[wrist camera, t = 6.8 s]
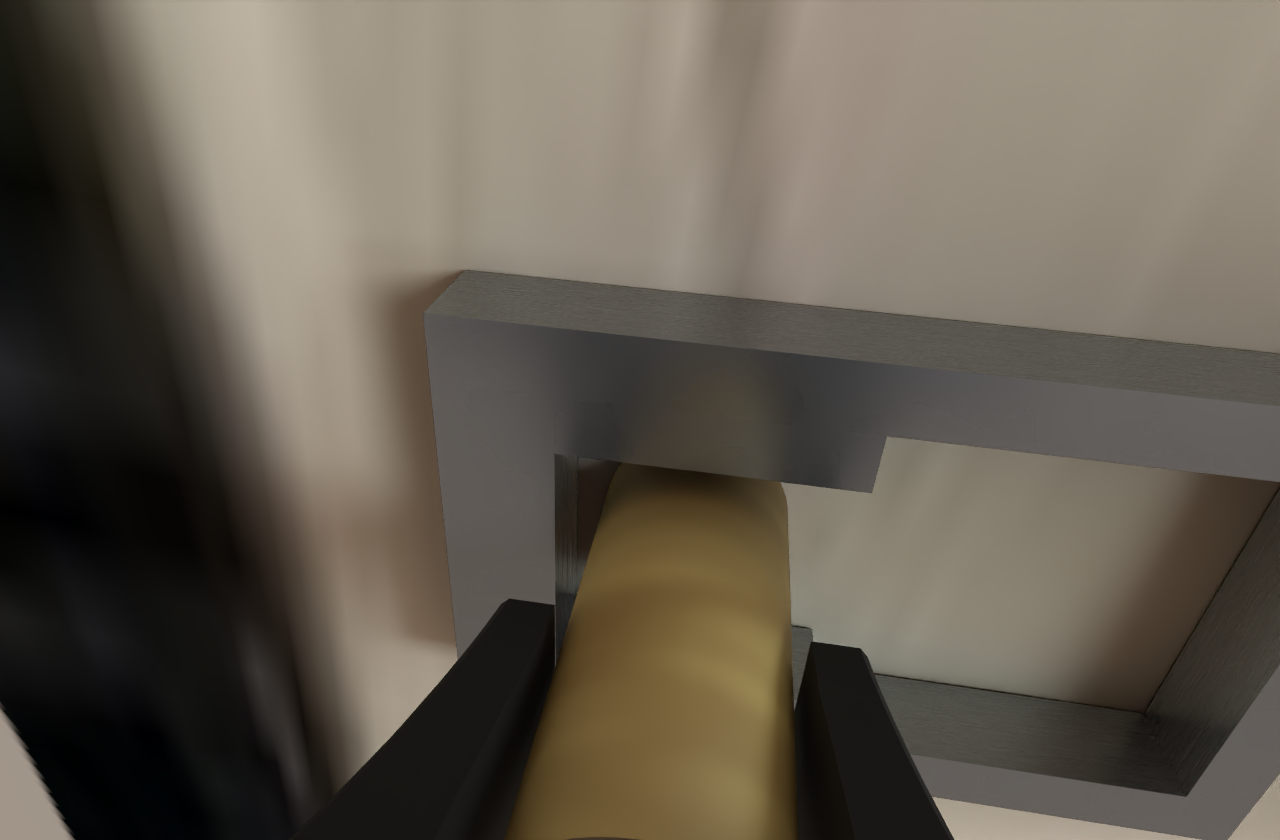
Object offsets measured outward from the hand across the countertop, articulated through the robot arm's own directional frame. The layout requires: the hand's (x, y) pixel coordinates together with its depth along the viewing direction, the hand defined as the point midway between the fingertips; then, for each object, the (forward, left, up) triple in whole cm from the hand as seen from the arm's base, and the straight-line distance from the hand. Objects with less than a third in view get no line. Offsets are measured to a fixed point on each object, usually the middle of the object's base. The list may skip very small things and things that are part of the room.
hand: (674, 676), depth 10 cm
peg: (0, 0, -3) cm, 3 cm away
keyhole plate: (-3, 0, -3) cm, 4 cm away
